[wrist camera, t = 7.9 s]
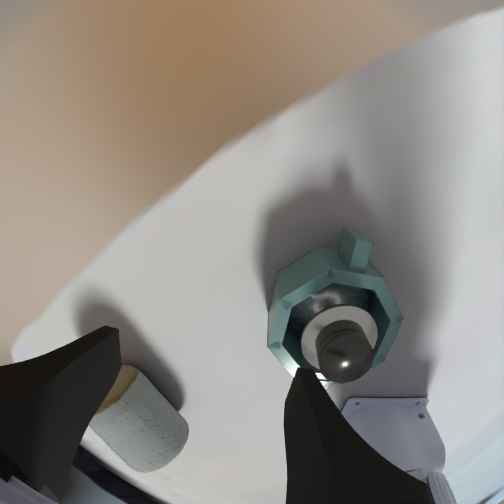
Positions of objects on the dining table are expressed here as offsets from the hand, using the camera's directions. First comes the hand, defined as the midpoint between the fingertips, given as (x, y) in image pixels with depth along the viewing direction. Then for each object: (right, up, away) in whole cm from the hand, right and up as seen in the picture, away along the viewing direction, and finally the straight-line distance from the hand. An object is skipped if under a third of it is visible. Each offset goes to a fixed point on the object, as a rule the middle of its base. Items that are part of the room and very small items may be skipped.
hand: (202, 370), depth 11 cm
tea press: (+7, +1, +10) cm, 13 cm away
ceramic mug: (-9, -10, +15) cm, 20 cm away
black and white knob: (+7, +1, +9) cm, 12 cm away
